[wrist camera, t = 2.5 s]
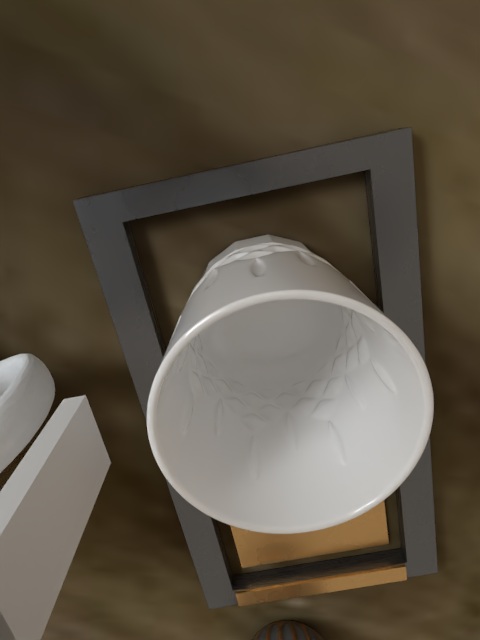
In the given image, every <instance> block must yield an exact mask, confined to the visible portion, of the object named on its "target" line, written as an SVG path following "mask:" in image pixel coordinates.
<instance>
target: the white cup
mask: <svg viewBox="0 0 480 640" xmlns="http://www.w3.org/2000/svg"><path fill="white" fill-rule="evenodd" d="M433 414H434V398H433V389H432V384H431V380H430V376H429V373H428V370H427V368H426V365H425V363H424V361H423V359H422V357H421V355H420V353H419V351H418V350H417V348H416V347H415V345H414V344H413V343H412V341H411V340H410V339H409V338H408V336H407V335H406V334H405V333H404V332H403V331H402V330H401V329H400V328H399V327H398V326H397V325H396V324H395V323H394V322H393V321H392V320H391V319H390V318H388V317H387V316H386V315H385V314H384V313H383V312H382V311H381V310H380V309H379V308H378V307H377V306H376V305H375V304H374V303H373V302H372V301H371V300H370V299H369V298H368V297H367V296H366V295H364V294H363V293H362V292H361V291H360V290H359V289H358V288H357V287H356V286H355V285H354V284H353V283H352V282H351V281H350V280H349V279H348V278H346V277H345V276H344V275H343V274H342V273H340V272H339V271H338V270H337V269H336V268H334V267H333V266H332V265H331V264H330V263H329V262H327V261H326V260H325V259H323V258H321V257H319V256H317V255H316V254H315V253H313V252H312V251H311V250H310V249H309V248H307V247H306V246H305V245H304V244H303V243H301V242H298V241H294V240H290V239H286V238H282V237H278V236H273V235H269V234H268V235H263V236H258V237H254V238H249V239H244V240H240V241H236V242H234V243H233V244H232V245H230V246H229V247H228V248H226V249H225V250H224V251H223V252H221V253H220V254H219V255H217V256H216V257H215V258H214V259H212V260H211V261H210V262H209V263H208V265H207V268H206V270H205V272H204V274H203V276H202V278H201V280H200V281H199V282H198V283H197V285H196V286H195V288H194V289H193V291H192V293H191V296H190V298H189V299H188V301H187V303H186V306H185V308H184V310H183V311H182V313H181V315H180V317H179V320H178V322H177V325H176V327H175V330H174V332H173V335H172V337H171V340H170V342H169V345H168V347H167V349H166V352H165V354H164V357H163V359H162V361H161V364H160V366H159V368H158V371H157V373H156V375H155V378H154V380H153V383H152V386H151V390H150V394H149V398H148V405H147V431H148V437H149V442H150V446H151V449H152V452H153V455H154V458H155V460H156V462H157V464H158V466H159V468H160V470H161V471H162V473H163V475H164V476H165V478H166V479H167V480H168V482H169V483H170V484H171V486H172V487H173V488H174V489H175V490H176V491H177V492H178V493H179V494H180V495H181V496H182V497H183V498H184V499H185V500H186V501H187V502H189V503H190V504H191V505H193V506H194V507H195V508H197V509H198V510H200V511H201V512H203V513H205V514H206V515H208V516H210V517H212V518H214V519H216V520H218V521H220V522H223V523H225V524H228V525H231V526H234V527H237V528H241V529H245V530H249V531H254V532H261V533H270V534H296V533H305V532H312V531H317V530H322V529H326V528H329V527H333V526H336V525H339V524H342V523H344V522H347V521H349V520H351V519H354V518H356V517H358V516H360V515H362V514H364V513H365V512H367V511H369V510H370V509H372V508H374V507H375V506H377V505H378V504H379V503H381V502H382V501H384V500H385V499H386V498H387V497H389V496H390V495H391V494H392V493H393V492H394V491H395V490H396V489H397V488H398V487H399V486H400V485H401V484H402V483H403V482H404V481H405V480H406V478H407V477H408V476H409V475H410V473H411V472H412V470H413V469H414V468H415V466H416V464H417V463H418V461H419V459H420V457H421V456H422V453H423V451H424V449H425V447H426V444H427V442H428V439H429V435H430V432H431V427H432V422H433Z"/></svg>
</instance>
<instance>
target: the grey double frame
mask: <svg viewBox="0 0 480 640" xmlns="http://www.w3.org/2000/svg"><path fill="white" fill-rule="evenodd" d="M360 171H364V174H365V184H366V194H367V204H368V215H369V225H370V235H371V245H372V255H373V266H374V276H375V286H376V296H377V306H378V308H379V309H380V310H381V311H382V312H383V313H384V314H385V315H386V316H387V317H388V318H390V319H391V320H392V321H393V322H394V323H395V324H396V325H397V326H398V327H399V328H400V329H401V330H402V331H403V332H404V333H405V334H406V335H407V336H408V338H409V339H410V340H411V341H412V343H413V344H414V345H415V347H416V348H417V350H418V351H419V353H420V355H421V357H422V359H423V361H424V363H425V347H424V330H423V313H422V296H421V279H420V262H419V245H418V228H417V211H416V194H415V177H414V161H413V144H412V127H407V128H399V129H395V130H390V131H386V132H381V133H376V134H372V135H367V136H363V137H358V138H353V139H349V140H344V141H340V142H335V143H330V144H326V145H321V146H317V147H312V148H307V149H303V150H298V151H294V152H289V153H284V154H280V155H275V156H271V157H266V158H261V159H257V160H252V161H248V162H243V163H238V164H234V165H229V166H225V167H220V168H216V169H211V170H206V171H202V172H197V173H193V174H188V175H183V176H179V177H174V178H170V179H165V180H160V181H156V182H151V183H147V184H142V185H137V186H133V187H128V188H124V189H119V190H114V191H110V192H105V193H101V194H96V195H91V196H87V197H82V198H79V199H76V200H74V201H73V203H74V206H75V209H76V212H77V215H78V218H79V221H80V224H81V227H82V230H83V233H84V236H85V239H86V242H87V245H88V248H89V251H90V254H91V257H92V260H93V263H94V266H95V269H96V272H97V275H98V278H99V281H100V284H101V287H102V290H103V293H104V296H105V299H106V302H107V305H108V308H109V311H110V314H111V317H112V320H113V323H114V326H115V329H116V332H117V335H118V338H119V341H120V344H121V347H122V350H123V353H124V356H125V359H126V362H127V365H128V368H129V371H130V374H131V377H132V380H133V383H134V386H135V389H136V392H137V395H138V398H139V401H140V404H141V407H142V410H143V413H144V416H145V419H146V422H147V405H148V398H149V394H150V390H151V386H152V383H153V380H154V378H155V375H156V373H157V371H158V368H159V366H160V364H161V361H162V359H163V357H164V354H165V352H166V347H165V344H164V341H163V337H162V334H161V330H160V327H159V324H158V320H157V317H156V314H155V310H154V307H153V303H152V300H151V297H150V293H149V290H148V286H147V283H146V280H145V276H144V273H143V269H142V266H141V263H140V259H139V256H138V252H137V249H136V246H135V242H134V239H133V235H132V232H131V229H130V225H129V222H128V221H130V220H134V219H139V218H144V217H148V216H153V215H158V214H162V213H167V212H172V211H176V210H181V209H186V208H191V207H195V206H200V205H205V204H209V203H214V202H219V201H223V200H228V199H233V198H238V197H242V196H247V195H252V194H256V193H261V192H266V191H270V190H275V189H280V188H284V187H289V186H294V185H299V184H303V183H308V182H313V181H317V180H322V179H327V178H331V177H336V176H341V175H345V174H350V173H355V172H360ZM425 365H426V364H425ZM165 479H166V478H165ZM166 482H167V485H168V488H169V491H170V494H171V497H172V500H173V503H174V506H175V509H176V512H177V515H178V518H179V521H180V524H181V527H182V530H183V533H184V536H185V539H186V542H187V545H188V548H189V551H190V554H191V557H192V560H193V563H194V566H195V569H196V572H197V574H198V577H199V580H200V583H201V586H202V589H203V592H204V595H205V598H206V601H207V604H208V607H209V609H213V608H219V607H226V606H232V605H238V604H239V607H240V606H246V605H252V604H259V603H265V602H271V601H278V600H284V599H290V598H296V597H303V596H309V595H315V594H322V593H328V592H334V591H340V590H347V589H353V588H359V587H366V586H372V585H378V584H384V583H391V582H397V581H403V580H407V578H408V577H414V576H420V575H426V574H433V573H438V567H437V550H436V533H435V516H434V499H433V482H432V465H431V448H430V435H429V439H428V442H427V444H426V447H425V449H424V451H423V453H422V456H421V457H420V459H419V461H418V463H417V464H416V466H415V468H414V469H413V470H412V472H411V473H410V475H409V476H408V477H407V478H406V480H405V481H404V482H403V483H402V484H401V485H400V486H399V487H398V488H397V489H396V500H397V510H398V520H399V530H400V541H401V548H400V549H394V550H388V551H382V552H375V553H369V554H363V555H357V556H351V557H345V558H339V559H333V560H326V561H320V562H314V563H308V564H302V565H296V566H290V567H284V568H277V569H271V570H265V571H259V572H253V573H247V574H241V575H235V576H233V575H232V572H231V568H230V565H229V562H228V558H227V555H226V551H225V548H224V545H223V541H222V538H221V534H220V531H219V528H218V524H217V521H216V519H214V518H212V517H210V516H208V515H206V514H205V513H203V512H201V511H200V510H198V509H197V508H195V507H194V506H193V505H191V504H190V503H189V502H187V501H186V500H185V499H184V498H183V497H182V496H181V495H180V494H179V493H178V492H177V491H176V490H175V489H174V488H173V487H172V486H171V484H170V483H169V482H168V480H167V479H166ZM230 527H231V530H232V534H233V537H234V541H235V545H236V548H237V552H238V555H239V559H240V562H241V566H242V568H246V567H252V566H258V565H264V564H270V563H277V562H283V561H289V560H295V559H301V558H307V557H313V556H319V555H325V554H331V553H338V552H344V551H350V550H356V549H362V548H368V547H374V546H380V545H386V544H389V539H388V530H387V521H386V512H385V503H384V501H382V502H381V503H379V504H378V505H377V506H375V507H374V508H372V509H370V510H369V511H367V512H365V513H364V514H362V515H360V516H358V517H356V518H354V519H351V520H349V521H347V522H344V523H342V524H339V525H336V526H333V527H329V528H326V529H322V530H317V531H312V532H305V533H296V534H270V533H261V532H254V531H249V530H245V529H241V528H237V527H234V526H231V525H230Z"/></svg>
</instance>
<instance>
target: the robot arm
mask: <svg viewBox="0 0 480 640" xmlns="http://www.w3.org/2000/svg"><path fill="white" fill-rule="evenodd" d="M110 464H111V461H110V459H109V456H108V453H107V451H106V448H105V445H104V443H103V440H102V437H101V435H100V432H99V429H98V427H97V424H96V421H95V419H94V416H93V413H92V410H91V408H90V405H89V402H88V400H87V397H86V395H83V396H78V397H73V398H67V399H63V401H62V402H61V404H60V405H59V406H58V408H57V409H56V411H55V412H54V414H53V415H52V417H51V418H50V420H49V421H48V423H47V424H46V425H45V427H44V428H43V430H42V431H41V433H40V434H39V436H38V437H37V439H36V440H35V441H34V443H33V444H32V446H31V447H30V449H29V450H28V452H27V453H26V455H25V456H24V458H23V459H22V460H21V462H20V463H19V465H18V466H17V468H16V469H15V471H14V472H13V474H12V475H11V477H10V478H9V479H8V481H7V482H6V484H5V485H4V487H3V488H2V490H1V491H0V640H41V637H42V635H43V632H44V630H45V627H46V625H47V622H48V620H49V617H50V615H51V612H52V610H53V607H54V605H55V602H56V600H57V597H58V595H59V592H60V590H61V587H62V584H63V582H64V579H65V577H66V574H67V572H68V569H69V567H70V564H71V562H72V559H73V557H74V554H75V552H76V549H77V547H78V544H79V542H80V539H81V537H82V534H83V532H84V529H85V527H86V524H87V522H88V519H89V517H90V514H91V512H92V509H93V507H94V504H95V502H96V499H97V497H98V494H99V492H100V489H101V487H102V484H103V481H104V479H105V476H106V474H107V471H108V469H109V466H110Z"/></svg>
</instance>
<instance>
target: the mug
mask: <svg viewBox="0 0 480 640" xmlns="http://www.w3.org/2000/svg"><path fill="white" fill-rule="evenodd" d="M54 396H55V384H54V381H53V378H52V376H51V374H50V372H49V370H48V368H47V367H46V366H45V364H44V363H43V362H42V361H41V360H40V359H38V358H37V357H35V356H34V355H32V354H18V355H15V356H12V357H9V358H7V359H4V360H2V361H0V473H1V472H2V471H3V470H4V469H5V468H6V467H7V466H8V465H9V464H10V463H11V462H12V461H13V460H14V459H15V457H16V456H17V455H18V454H19V453H20V452H21V451H22V450H23V449H24V447H25V446H26V445H27V444H28V443H29V442H30V440H31V439H32V438H33V436H34V435H35V433H36V432H37V431H38V429H39V428H40V427H41V425H42V423H43V422H44V420H45V418H46V417H47V415H48V413H49V411H50V408H51V406H52V403H53V400H54Z"/></svg>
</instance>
